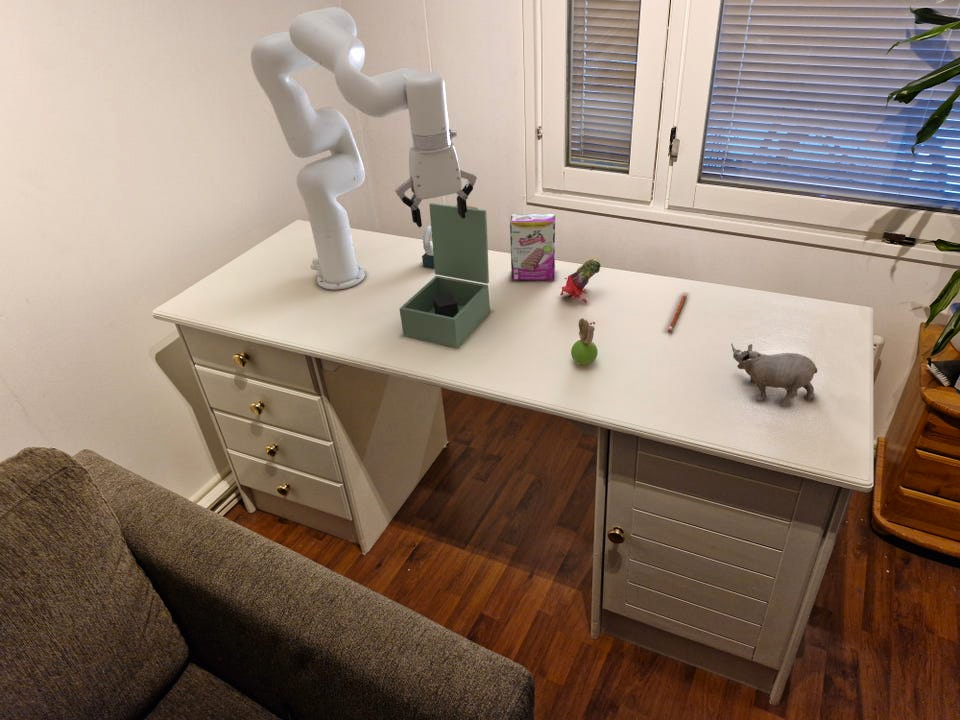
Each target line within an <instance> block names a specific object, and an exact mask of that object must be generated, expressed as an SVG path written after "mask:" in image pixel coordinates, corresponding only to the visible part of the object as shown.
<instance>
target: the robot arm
mask: <svg viewBox="0 0 960 720" xmlns="http://www.w3.org/2000/svg"><path fill="white" fill-rule="evenodd" d="M357 33H358V29H357V25H356V22H355V20H354V18H353V17H352V15H351V14H350V13H349V12H348V11H347V10H345V9H344V8H342V7H339V6H329V7H324V8H320V9H315V10H310V11H305V12H302V13H300V14H298V15H297V16H296V17H295V18H293V20H292V21H291V23H290V26H289V30H287V31H286V30H285V31H280V32H275V33H272V34H269V35H266V36H264V37H262V38H260V39H258V40H256V42H255V43H254V44H253V46H252V49H251V51H250V63H251V68H252V71H253V73H254V76H255V78H256V81H257V83H258V84H259V86H260V87H261V89H262V90H263V92H264V94H265V96H266V97H267V98H268V100H269V102H270V104H271V106H272V109H273V111H274V114H275V117H276V119H277V121H278V124H279V126H280V129H281V131H282V133H283V137H284V139H285V142H286V144H287V146H288V148H289V150H290V151H291V153H292V154H293V155H294V156H295V157H297V158H299V159H305V158H310V157H314V156H316V155H319V154H321V153H325V152H327V151H328V152H330V155H329V156H326V157H322V158H320V159H318V160H315V161H312V162H309V163H307V164H305V165H304V166H303V167H302V168H301V169H299V171H298V173H297V175H296V185H297V188H298V191H299V193H300V195H301V198H302V200H303V203H304V205H305V208H306V212H307V214H308V215H307V216H308V220H309V224H310V228H311V232H312V235H313V236H312V237H313V241H314V246H315V250H316V255H317V258H313V259H312V262H311V263H312V264H311V265H310V269H311V270H313V271H317V273H318V274H317V275H316V276H317V277H316V282H317V285H318V286H319V287H321V288H322V289H326V290H333V291H334V290H335V291H336V290H345V289H349V288H352V287H354V286H356V285H358V284H360V283H361V282H363V280H364V279H365V276H366V274H365V273H366V272H365V270H364V268H362V267H361V266H359V265H358V263H357V257H356V252H355V247H354V241H353V235H352V231H351V224H350V220H349V216H348V213H347V211H346V209H345V208H344V206H343V205H341V204H340V203H339V202H338V200H337V198H338V197H340V196H342V195H344V194H346V193H349V192H351V191H354V190H356V189H357V188H360V187H361V186H362V185H363V183H364V181H365V179H366V178H365V177H366V171H365V166H364V162H363V160H362V158H361V157H362V156H361V155H360V152H359V148H358V145H357V143H356V140H355V138H354V135H353V132H352V129H351V126H350V125H349V122H348V120H347V119H346V116H344V114H343V113H342V112H341V111H340V110H338V109H337V108H335V107H333V106H332V107H331V106H327V107H321V108H319V109H315V110H314V108H313V106H312V104H311V101H310V98H309V96H308V94H307V91H306V90H305V89H304V88H303V86H301V85H300V83H298V81H296V80H295V79H293V77H291V76H290V75H291V74H295V73H299V72H303V71H308V70H311V69H314V68H318V67H321V66H322V67H323V68H325V69H326V70H327V71H329V72H330V73H332V74H333V75H334V79H335V83H336V86H337V88H338V90H339V92H340V94H341V95H342V97H343V99H344V100H345V101H346V102H347V103H348V104H349V105H351V106H352V107H354V108H355V109H357V110H358V111H359V112H362V113H363V114H365V115H367V116H369V117H371V118H376V119H377V118H379V119H380V118H385V117H388V116H391V115H393V114H396V113H399V112H402V111H406V110H408V116H409V124H410V132H411V139H412V146H411V147H410V148H409V151H408V174H409V178H408V179H407V180H405V181H404V182H403V183H401V185H399V186H398V187H396V189H395V190H394V192H395V194H396V195H397V196H398V197H399V199H400V201H401V202H402V203H403V204H404V205H406V206H407V207H409V208H410V211H411V220H412V223H413V224H415V225H416V226H417V227H418V228H422V227H423V223H422V222H423V221H422V215H421V209H420V208H419V206H420V204H421V203H422V201H423V200H428V199H434V198H439V197H444V196H445V197H446V196H449V195H454V194H456V195H457V197H456V205H457V207H458V214H459V215H460V217H461V218H465V213H466V212H467V206H468V205H467V200H468V199H469V195H470V194H471V193H472V192H473V190H474V186H475V184H476V181H477V178H478V177H477V175H475V174H474V173H471V172H468V171H466V170H462V169H460V164H459V163H460V162H459V159H458V154H457V151H456V147H455V145H454V143H453V142H452V140H453V139H454V138H457V137H458V134H457V129H453V130H452V129H450V126H449V125H450V123H449V114H448V113H449V112H448V104H447V93H446V83H445V79H444V77H443V76H442V74H440V73H437V72H431V71H426V72H423V71H421V70H419V69H417V68H413V67H407V66H406V67H401V68H397V69H393V70H390V71H386V72H382V73H380V74H376V75H372V76H369V75H367V74H365V73H363V72H362V71H361V70H362V68H363V66H364V63H365V60H366V49H365V46H364V44H363V41H361V40H360V39H359V38H358V37H357V36H358V34H357ZM462 179H464V180H467V182H466V184H465V185H464V186H463V185H462ZM462 187H463V188H462ZM408 190H410V191H411V193H412V196H411V197H410V198H409V197H408V196H407V195H406V192H407V191H408Z"/></svg>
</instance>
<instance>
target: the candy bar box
mask: <svg viewBox="0 0 960 720" xmlns="http://www.w3.org/2000/svg"><path fill="white" fill-rule="evenodd" d="M509 234H510V239H509V240H510V268H511V270H510V271H511V273H510V274H511V281H512V282H513V281H514V282H515V281H516V282H517V281H519V282H520V281H523V282H525V281H530V282H531V281H555V278H556V277H555V276H556V213H539V214H538V213H536V214H535V213H534V214H533V213H532V214H531V213H530V214H529V213H528V214H526V213H525V214H519V213H518V214H510V219H509Z"/></svg>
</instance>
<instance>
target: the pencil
mask: <svg viewBox="0 0 960 720" xmlns="http://www.w3.org/2000/svg"><path fill="white" fill-rule="evenodd" d="M686 299H687V294H686V293H685V294H683V295H682V297H681V298H680V301H679V304H678V306H677V308H676V310H675V313H674V315H673V318H672V319H671V322H670V324H669V327H668V329H667V332H668V333H672V331H673V328H674V326H675V324H676V322H677V319H678V317H679V314H680V312H681V310H682V308H683V305H684V303H685V300H686Z"/></svg>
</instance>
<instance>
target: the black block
mask: <svg viewBox="0 0 960 720" xmlns="http://www.w3.org/2000/svg"><path fill="white" fill-rule="evenodd" d="M433 300H434V309H435V314H438V315H442V316H447V317H452V318H454V316H455V315H456V314H457V313H458V304H457V301H456V300H455V298H454V297H453V295H452V294H450V295H445V296H441V297H436V298H433Z"/></svg>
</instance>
